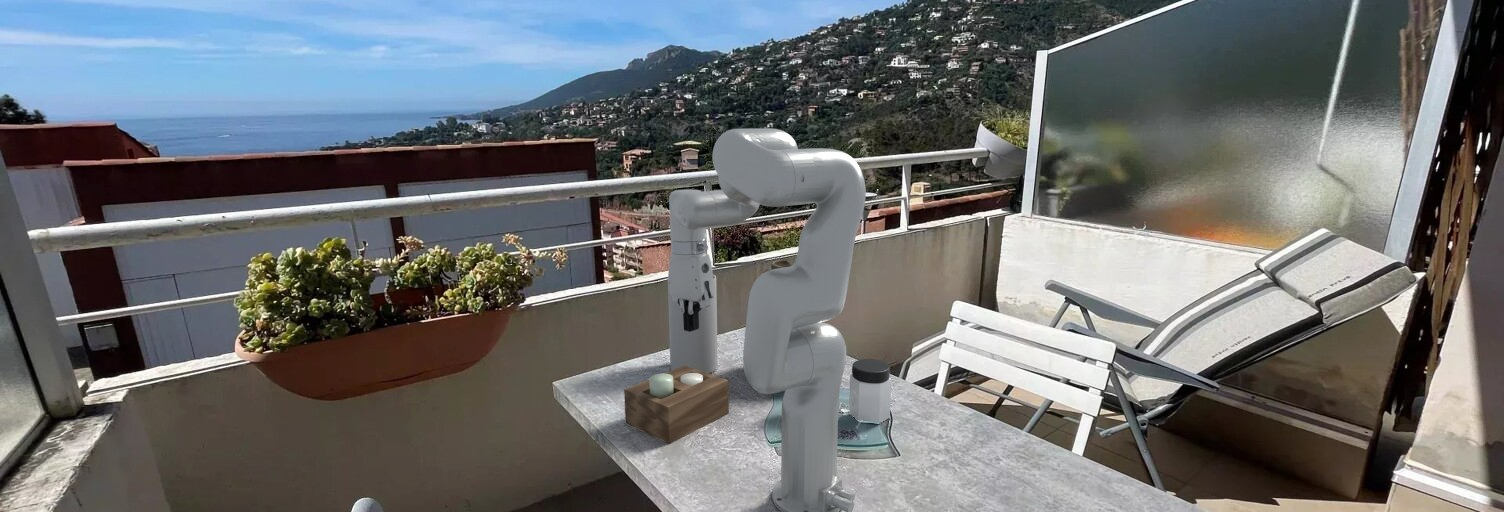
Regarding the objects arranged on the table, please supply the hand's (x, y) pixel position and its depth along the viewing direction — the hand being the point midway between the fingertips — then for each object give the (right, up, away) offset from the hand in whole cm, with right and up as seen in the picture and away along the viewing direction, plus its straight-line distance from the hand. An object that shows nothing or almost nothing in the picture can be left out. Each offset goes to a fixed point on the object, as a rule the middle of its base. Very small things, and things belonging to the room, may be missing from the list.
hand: (691, 329), depth 140 cm
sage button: (-6, -14, -4) cm, 15 cm away
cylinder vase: (-2, -14, +30) cm, 33 cm away
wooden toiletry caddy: (-3, -20, +1) cm, 20 cm away
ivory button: (0, -15, +3) cm, 15 cm away
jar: (+39, -20, +2) cm, 44 cm away
